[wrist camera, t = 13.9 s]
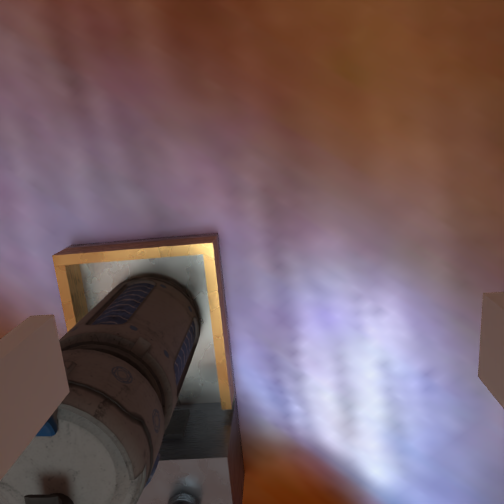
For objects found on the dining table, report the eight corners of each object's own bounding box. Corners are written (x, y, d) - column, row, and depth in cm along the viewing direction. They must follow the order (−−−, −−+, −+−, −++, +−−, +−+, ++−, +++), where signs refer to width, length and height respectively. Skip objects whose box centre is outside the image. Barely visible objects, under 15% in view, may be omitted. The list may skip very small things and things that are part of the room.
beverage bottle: (112, 386, 49) (-45, 630, 25) (97, 266, 46) (-99, 412, 21) (207, 385, 48) (142, 634, 24) (199, 264, 45) (115, 411, 21)
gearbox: (71, 245, 47) (4, 281, 35) (217, 233, 46) (199, 266, 34) (115, 479, 53) (72, 575, 42) (244, 473, 52) (236, 569, 41)
